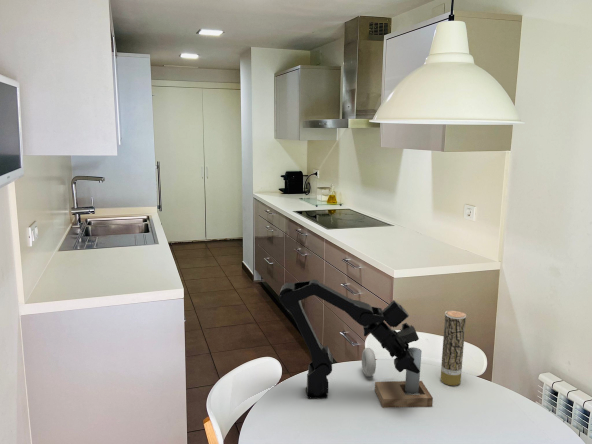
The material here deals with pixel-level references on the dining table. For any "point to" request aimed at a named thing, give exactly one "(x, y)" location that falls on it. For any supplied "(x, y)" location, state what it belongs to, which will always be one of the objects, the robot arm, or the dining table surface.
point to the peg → (412, 377)
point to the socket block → (401, 395)
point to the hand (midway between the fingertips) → (417, 369)
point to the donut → (368, 362)
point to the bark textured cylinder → (453, 347)
